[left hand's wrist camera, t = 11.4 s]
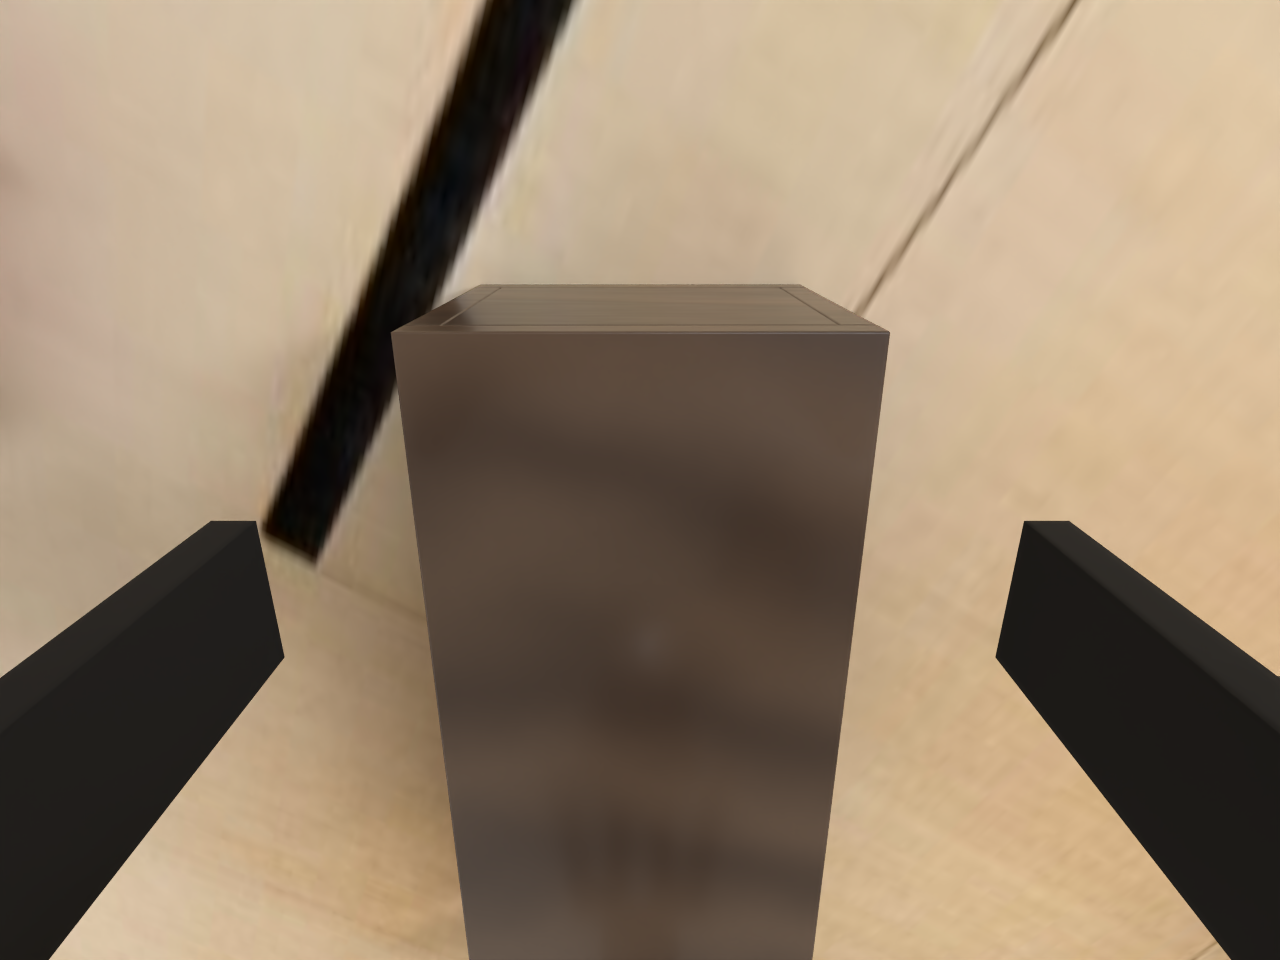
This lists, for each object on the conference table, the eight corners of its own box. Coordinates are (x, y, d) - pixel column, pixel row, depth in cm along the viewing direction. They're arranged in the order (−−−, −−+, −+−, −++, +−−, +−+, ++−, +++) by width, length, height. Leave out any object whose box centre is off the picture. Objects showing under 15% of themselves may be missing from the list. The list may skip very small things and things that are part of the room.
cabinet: (763, 770, 33) (809, 984, 24) (517, 770, 33) (471, 984, 24) (801, 284, 25) (891, 331, 16) (479, 284, 25) (390, 331, 16)
